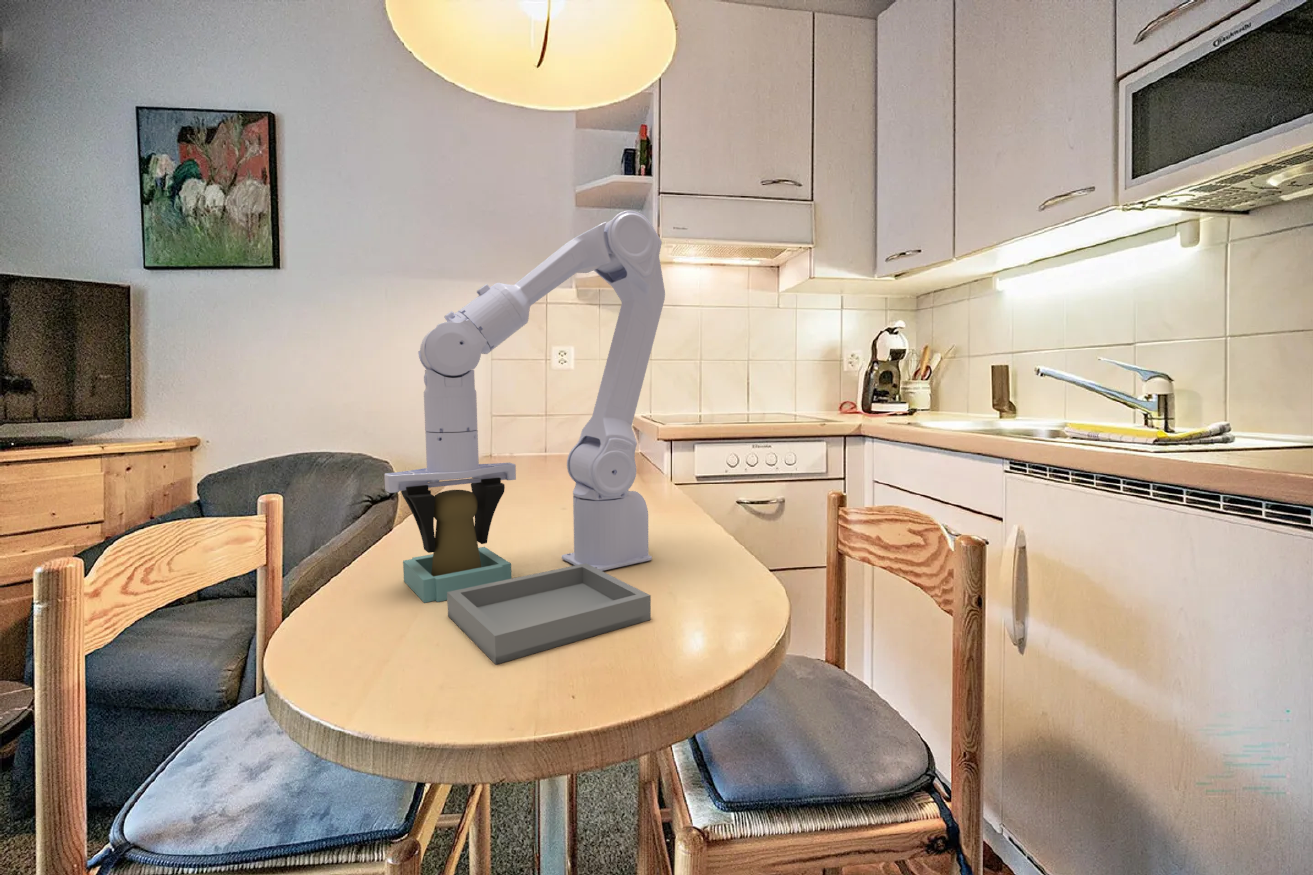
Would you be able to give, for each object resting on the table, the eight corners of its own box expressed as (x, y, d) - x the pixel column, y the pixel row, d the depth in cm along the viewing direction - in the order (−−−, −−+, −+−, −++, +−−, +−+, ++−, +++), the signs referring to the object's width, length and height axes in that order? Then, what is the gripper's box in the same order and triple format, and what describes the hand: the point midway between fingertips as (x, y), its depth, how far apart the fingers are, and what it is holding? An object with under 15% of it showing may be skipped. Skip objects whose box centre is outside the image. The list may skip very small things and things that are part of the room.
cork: (467, 593, 67) (464, 496, 66) (419, 589, 69) (415, 494, 68) (492, 576, 73) (490, 487, 72) (447, 573, 75) (444, 485, 73)
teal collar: (483, 564, 78) (482, 545, 78) (513, 585, 70) (513, 564, 70) (402, 579, 72) (401, 559, 72) (425, 604, 64) (424, 581, 64)
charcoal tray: (586, 583, 70) (585, 563, 70) (650, 619, 60) (650, 595, 60) (447, 615, 61) (447, 591, 61) (495, 664, 51) (494, 635, 50)
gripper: (499, 425, 77) (502, 529, 78) (376, 431, 68) (382, 548, 70) (521, 429, 71) (524, 541, 72) (390, 436, 63) (396, 563, 64)
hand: (456, 546), depth 71 cm, fingers open, 5 cm apart
